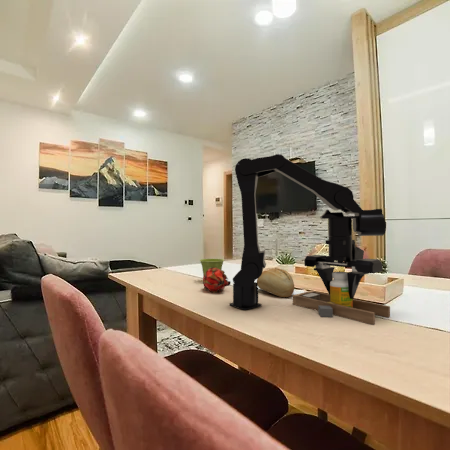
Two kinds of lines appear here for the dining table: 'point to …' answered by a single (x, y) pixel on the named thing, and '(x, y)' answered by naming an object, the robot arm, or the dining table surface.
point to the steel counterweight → (312, 296)
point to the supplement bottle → (340, 289)
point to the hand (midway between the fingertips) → (341, 296)
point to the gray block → (325, 311)
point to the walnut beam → (344, 307)
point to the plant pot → (211, 264)
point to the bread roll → (276, 282)
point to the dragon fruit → (215, 279)
